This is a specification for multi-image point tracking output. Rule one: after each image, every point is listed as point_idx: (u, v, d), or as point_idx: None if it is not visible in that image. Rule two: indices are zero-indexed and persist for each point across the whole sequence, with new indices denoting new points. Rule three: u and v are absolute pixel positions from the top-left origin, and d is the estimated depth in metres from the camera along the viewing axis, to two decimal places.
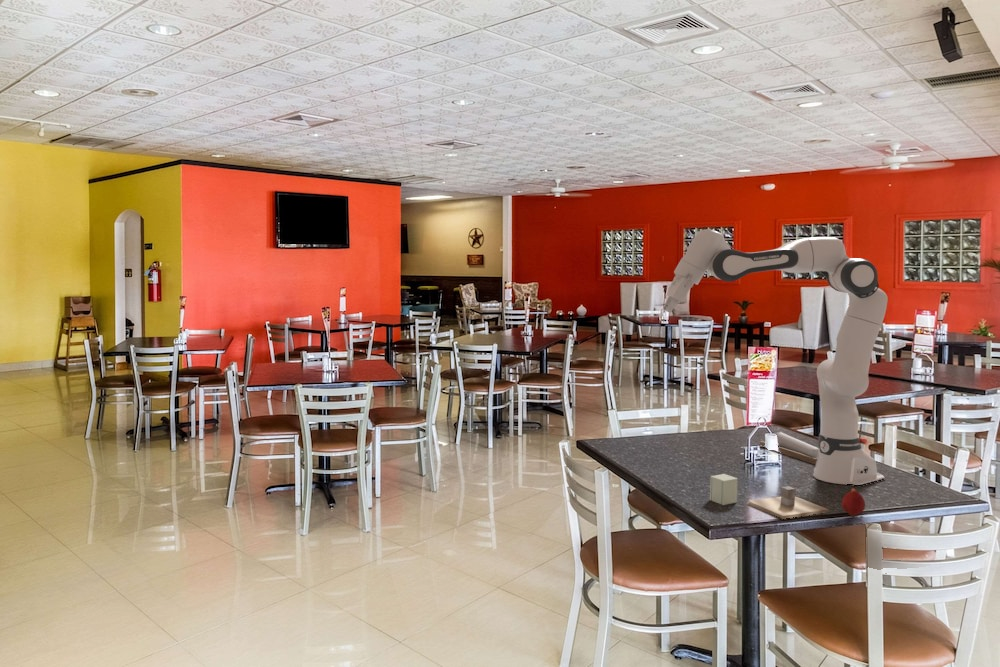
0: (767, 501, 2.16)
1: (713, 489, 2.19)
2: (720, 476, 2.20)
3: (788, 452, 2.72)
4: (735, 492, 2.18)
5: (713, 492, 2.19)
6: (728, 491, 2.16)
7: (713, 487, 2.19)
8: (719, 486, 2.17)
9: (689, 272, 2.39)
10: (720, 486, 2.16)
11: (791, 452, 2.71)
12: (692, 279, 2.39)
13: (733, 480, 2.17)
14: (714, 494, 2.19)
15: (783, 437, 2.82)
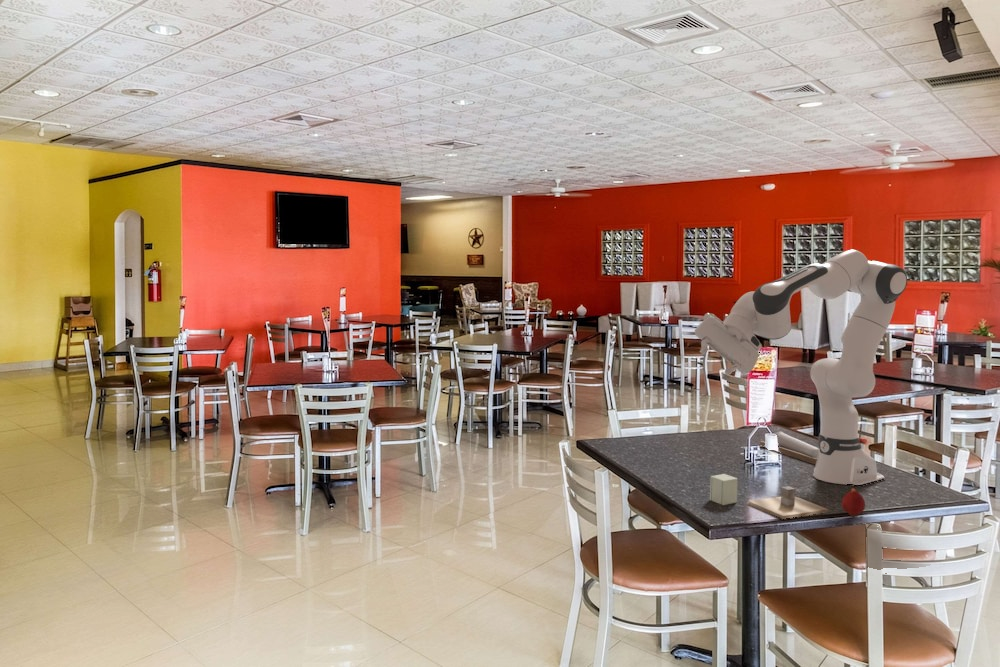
0: (767, 501, 2.16)
1: (713, 489, 2.19)
2: (720, 476, 2.20)
3: (788, 452, 2.72)
4: (735, 492, 2.18)
5: (713, 492, 2.19)
6: (728, 491, 2.16)
7: (713, 487, 2.19)
8: (719, 486, 2.17)
9: None
10: (720, 486, 2.16)
11: (791, 452, 2.71)
12: (725, 323, 2.24)
13: (733, 480, 2.17)
14: (714, 494, 2.19)
15: (783, 437, 2.82)
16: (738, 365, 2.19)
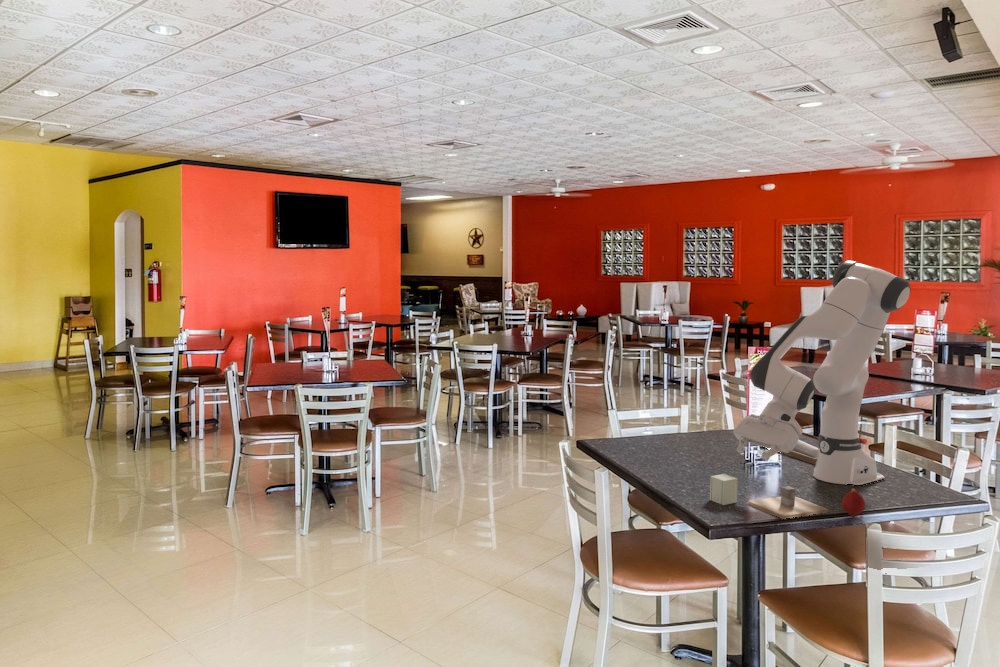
0: (767, 501, 2.16)
1: (713, 489, 2.19)
2: (720, 476, 2.20)
3: None
4: (735, 492, 2.18)
5: (713, 492, 2.19)
6: (728, 491, 2.16)
7: (713, 487, 2.19)
8: (719, 486, 2.17)
9: None
10: (720, 486, 2.16)
11: (791, 452, 2.71)
12: None
13: (733, 480, 2.17)
14: (714, 494, 2.19)
15: None
16: (773, 446, 2.18)
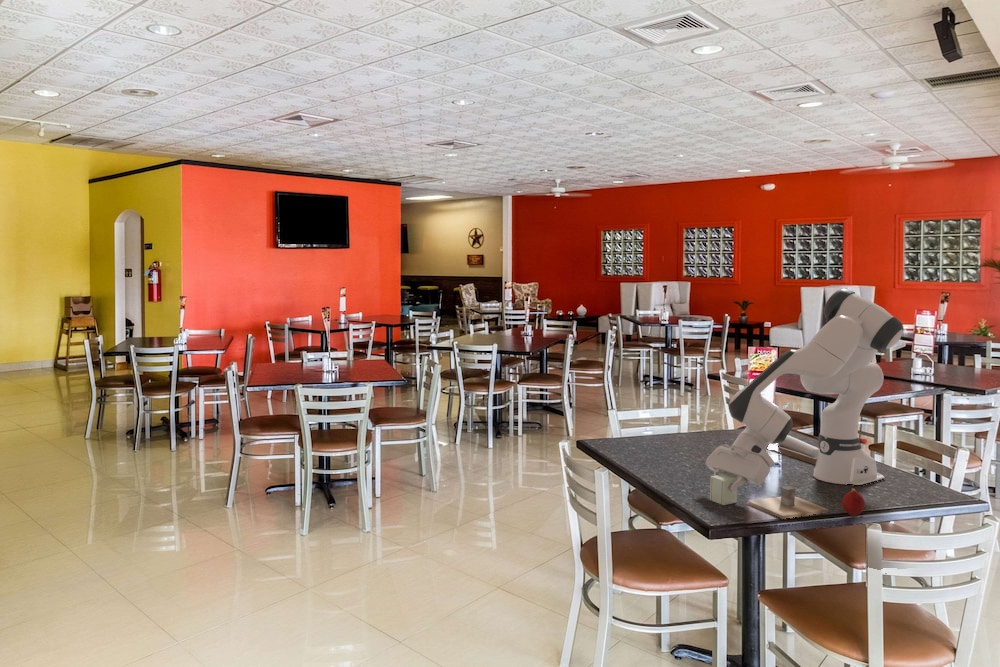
0: (767, 501, 2.16)
1: (713, 489, 2.19)
2: (720, 476, 2.20)
3: (788, 452, 2.72)
4: (735, 492, 2.18)
5: (713, 492, 2.19)
6: (728, 491, 2.16)
7: (713, 487, 2.19)
8: (719, 486, 2.17)
9: None
10: (720, 486, 2.16)
11: (791, 452, 2.71)
12: None
13: (733, 480, 2.17)
14: (714, 494, 2.19)
15: None
16: (739, 478, 2.15)
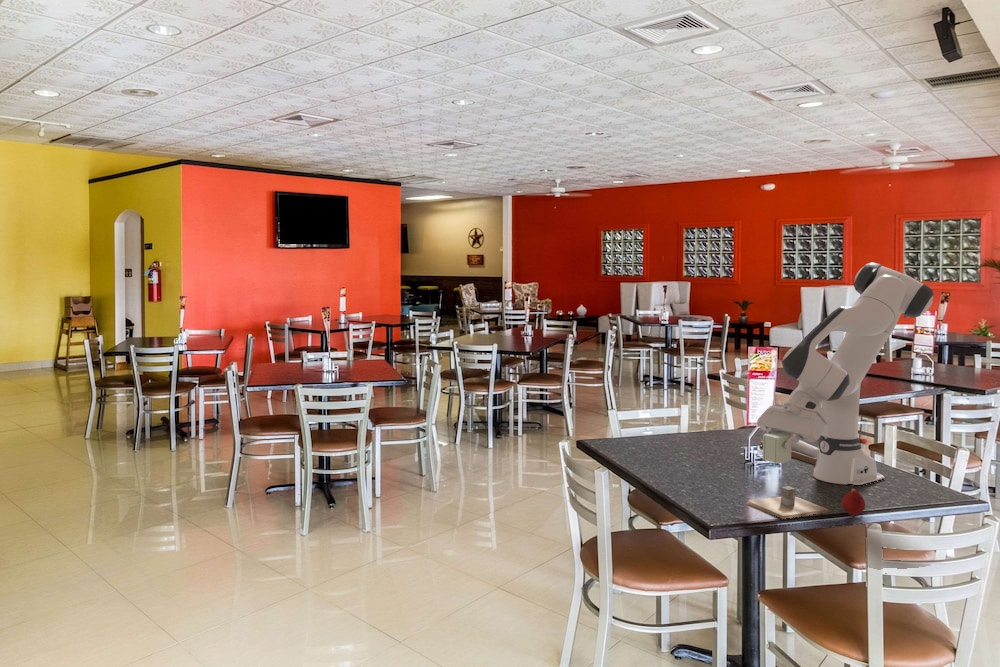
0: (767, 501, 2.16)
1: (766, 448, 2.13)
2: (773, 434, 2.14)
3: None
4: (789, 450, 2.12)
5: (766, 451, 2.13)
6: (782, 449, 2.10)
7: (766, 446, 2.13)
8: (773, 444, 2.11)
9: None
10: (774, 444, 2.10)
11: (791, 452, 2.71)
12: None
13: (787, 438, 2.11)
14: (767, 452, 2.13)
15: None
16: (794, 435, 2.09)
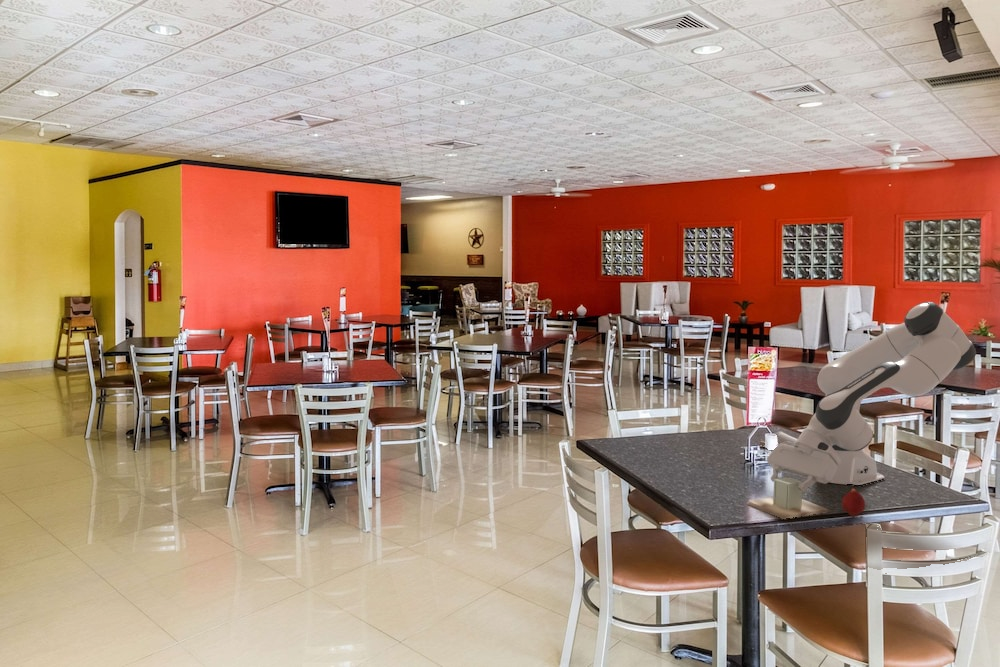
0: (767, 501, 2.16)
1: (777, 493, 2.13)
2: (784, 479, 2.13)
3: None
4: (800, 496, 2.11)
5: (777, 496, 2.12)
6: (793, 495, 2.10)
7: (777, 491, 2.13)
8: (784, 490, 2.10)
9: None
10: (785, 489, 2.10)
11: None
12: None
13: (798, 483, 2.10)
14: (778, 497, 2.12)
15: (784, 437, 2.82)
16: (810, 477, 2.08)
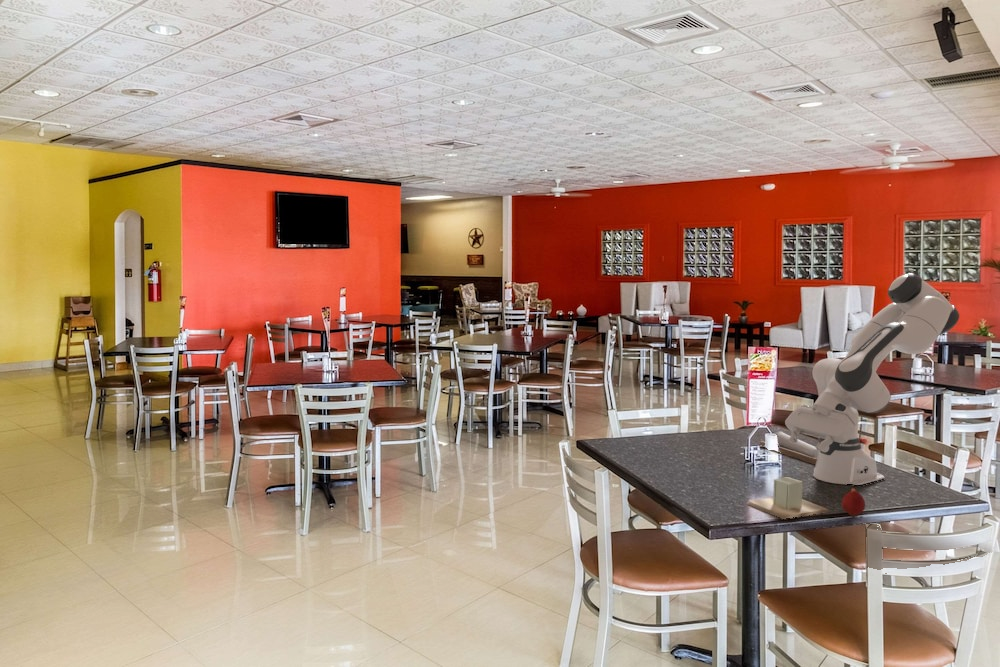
0: (767, 501, 2.16)
1: (777, 493, 2.13)
2: (784, 479, 2.13)
3: (788, 452, 2.72)
4: (800, 496, 2.11)
5: (777, 496, 2.12)
6: (793, 495, 2.10)
7: (777, 491, 2.13)
8: (784, 490, 2.10)
9: None
10: (785, 489, 2.10)
11: (791, 452, 2.71)
12: None
13: (798, 483, 2.10)
14: (778, 497, 2.12)
15: (784, 437, 2.82)
16: (827, 437, 2.12)
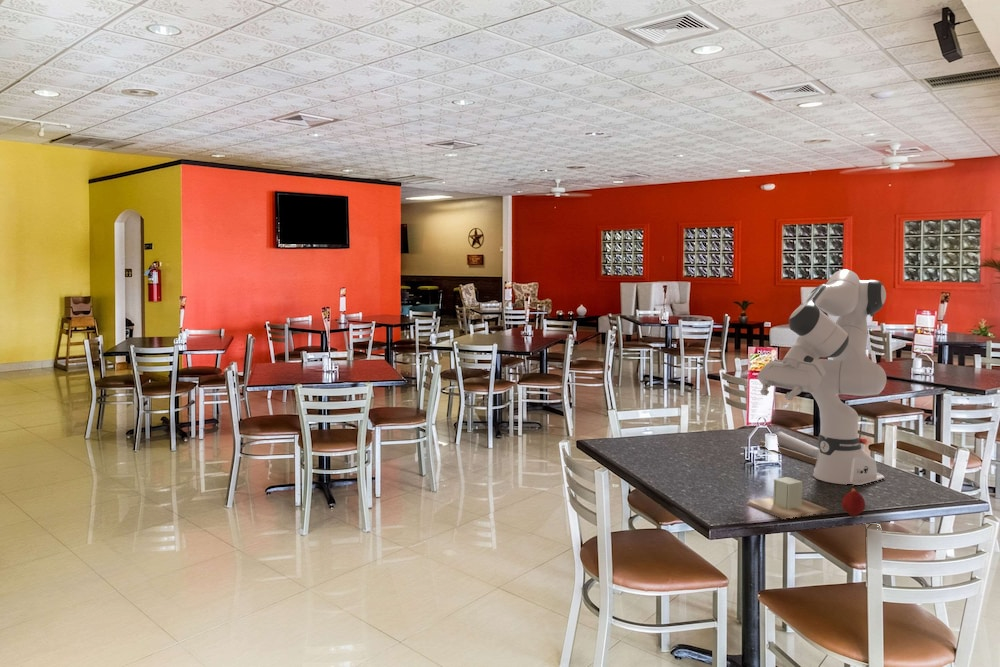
0: (767, 501, 2.16)
1: (777, 493, 2.13)
2: (784, 479, 2.13)
3: (788, 452, 2.72)
4: (800, 496, 2.11)
5: (777, 496, 2.12)
6: (793, 495, 2.10)
7: (777, 491, 2.13)
8: (784, 490, 2.10)
9: None
10: (785, 489, 2.10)
11: (791, 452, 2.71)
12: None
13: (798, 483, 2.10)
14: (778, 497, 2.12)
15: (784, 437, 2.82)
16: (796, 387, 2.24)
